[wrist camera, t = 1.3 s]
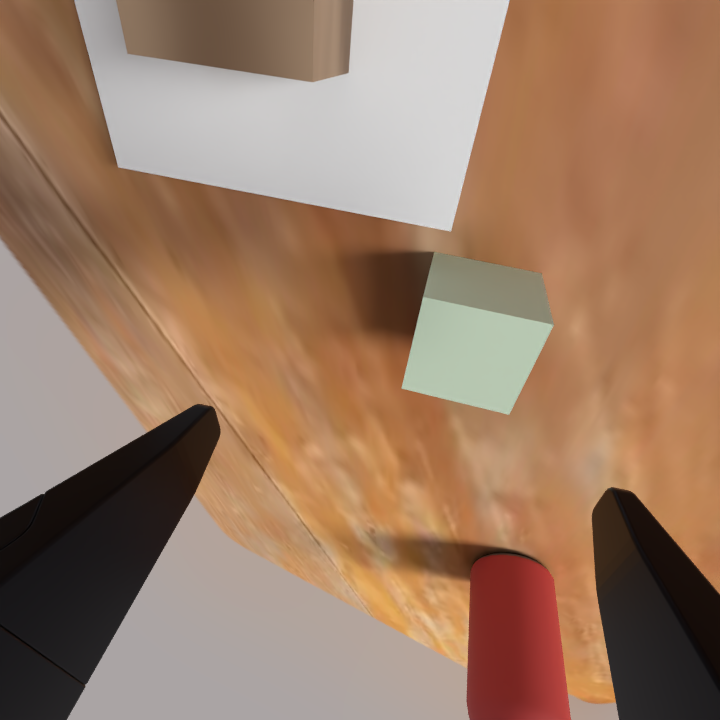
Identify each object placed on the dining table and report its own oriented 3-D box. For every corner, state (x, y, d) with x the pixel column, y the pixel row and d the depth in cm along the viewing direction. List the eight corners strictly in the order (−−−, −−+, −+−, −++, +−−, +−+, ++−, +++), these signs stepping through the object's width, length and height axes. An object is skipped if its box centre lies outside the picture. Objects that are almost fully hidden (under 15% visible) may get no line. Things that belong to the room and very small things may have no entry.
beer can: (507, 540, 32) (514, 739, 23) (571, 576, 33) (603, 782, 24) (455, 564, 36) (444, 740, 27) (514, 595, 37) (522, 777, 28)
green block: (541, 272, 19) (553, 324, 15) (505, 355, 22) (508, 414, 18) (434, 251, 19) (423, 296, 16) (414, 335, 22) (401, 388, 19)
